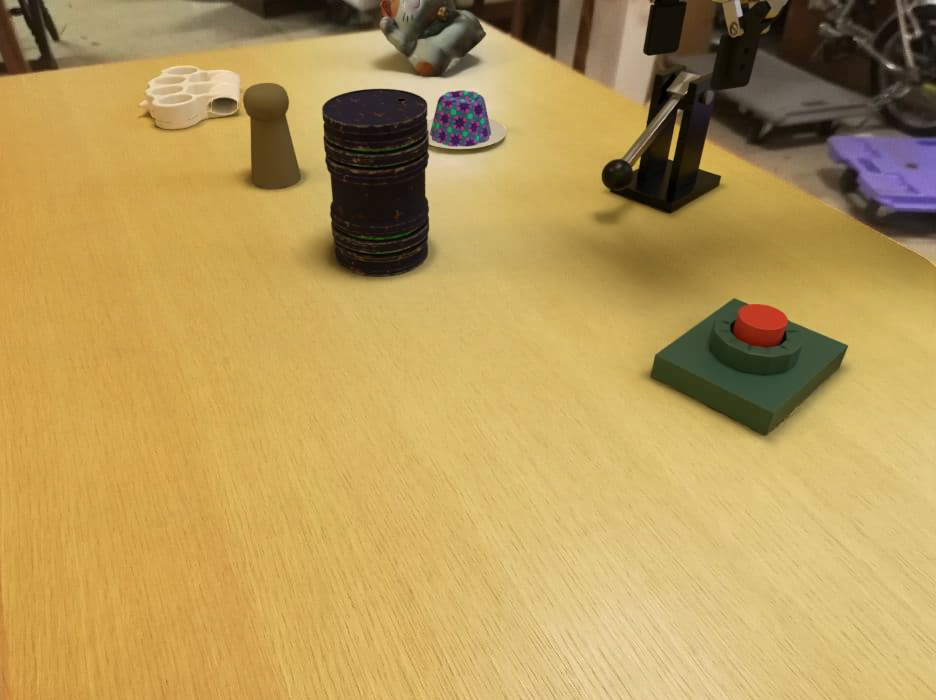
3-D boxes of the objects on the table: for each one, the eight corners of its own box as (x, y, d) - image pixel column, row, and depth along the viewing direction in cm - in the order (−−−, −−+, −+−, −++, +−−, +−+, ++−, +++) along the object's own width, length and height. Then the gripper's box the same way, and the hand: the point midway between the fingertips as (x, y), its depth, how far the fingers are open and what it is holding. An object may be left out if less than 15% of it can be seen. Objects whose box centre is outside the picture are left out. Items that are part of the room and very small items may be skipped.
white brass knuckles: (240, 124, 110) (134, 133, 109) (242, 83, 124) (148, 90, 122) (236, 100, 108) (128, 108, 107) (239, 61, 122) (143, 68, 120)
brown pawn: (310, 173, 97) (301, 81, 89) (281, 192, 93) (268, 98, 86) (271, 164, 99) (259, 74, 92) (241, 182, 95) (226, 90, 88)
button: (767, 354, 60) (773, 335, 59) (723, 334, 62) (729, 316, 61) (790, 335, 61) (796, 316, 60) (747, 316, 64) (753, 298, 62)
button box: (765, 435, 58) (781, 393, 56) (650, 376, 64) (659, 335, 61) (839, 367, 64) (856, 326, 61) (728, 318, 70) (739, 279, 67)
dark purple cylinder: (362, 287, 76) (352, 135, 66) (317, 246, 82) (302, 102, 73) (448, 258, 79) (450, 110, 70) (398, 221, 86) (394, 81, 76)
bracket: (670, 213, 86) (695, 94, 77) (609, 191, 90) (627, 76, 82) (719, 185, 91) (747, 70, 82) (659, 166, 95) (680, 55, 87)
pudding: (524, 134, 104) (527, 94, 101) (466, 162, 98) (467, 120, 94) (455, 114, 111) (455, 75, 107) (396, 139, 104) (395, 99, 101)
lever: (623, 200, 82) (618, 180, 80) (598, 191, 84) (592, 171, 82) (706, 96, 84) (704, 73, 81) (680, 89, 86) (677, 66, 83)
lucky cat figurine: (435, 83, 121) (391, -6, 115) (397, 95, 131) (354, 14, 125) (501, 33, 125) (461, -54, 119) (459, 49, 135) (420, -31, 129)
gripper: (885, -185, 49) (801, 96, 60) (716, -197, 61) (673, 37, 72) (783, -178, 47) (716, 109, 58) (631, -192, 60) (600, 46, 71)
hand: (692, 69), depth 65 cm, fingers open, 9 cm apart
